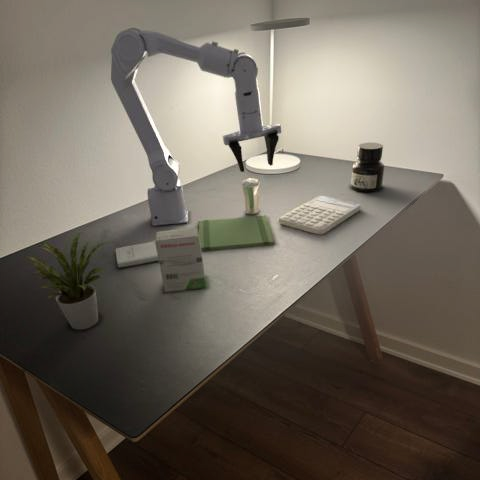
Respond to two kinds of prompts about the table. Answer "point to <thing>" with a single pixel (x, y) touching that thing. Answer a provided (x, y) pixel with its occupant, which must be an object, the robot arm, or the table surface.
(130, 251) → the hard drive
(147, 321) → the table surface
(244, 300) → the table surface
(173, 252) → the ink box
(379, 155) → the ink bottle
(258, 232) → the towel
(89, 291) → the house plant
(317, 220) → the calculator
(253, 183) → the milkshake
